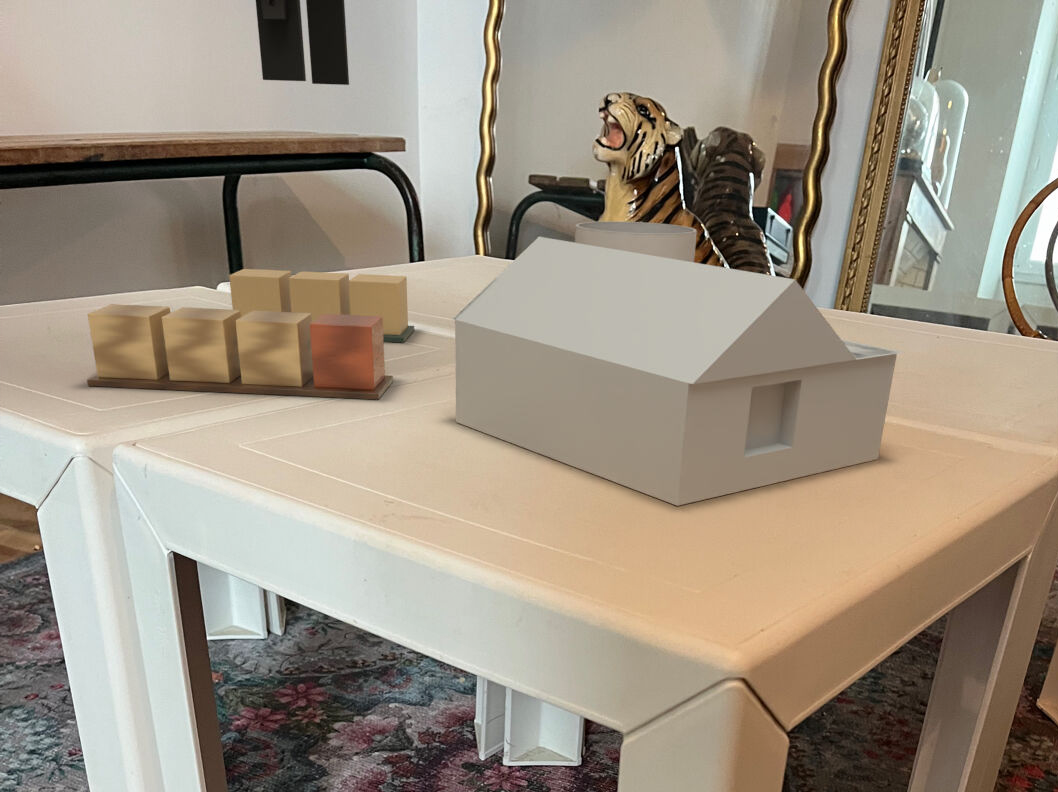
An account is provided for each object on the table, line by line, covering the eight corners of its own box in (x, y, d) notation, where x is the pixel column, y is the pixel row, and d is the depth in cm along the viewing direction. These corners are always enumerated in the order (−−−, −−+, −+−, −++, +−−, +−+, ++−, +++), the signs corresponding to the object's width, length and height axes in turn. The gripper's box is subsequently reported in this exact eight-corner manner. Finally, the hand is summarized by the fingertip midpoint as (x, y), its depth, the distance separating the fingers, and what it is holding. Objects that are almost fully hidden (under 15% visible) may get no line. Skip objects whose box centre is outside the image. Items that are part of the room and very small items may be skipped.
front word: (87, 386, 92) (75, 315, 89) (120, 368, 98) (109, 301, 95) (378, 399, 92) (375, 328, 89) (393, 381, 98) (390, 314, 95)
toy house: (453, 421, 86) (451, 239, 80) (651, 391, 98) (663, 231, 92) (681, 507, 70) (701, 287, 63) (885, 459, 82) (920, 269, 75)
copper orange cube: (314, 387, 92) (309, 323, 90) (327, 375, 97) (323, 313, 94) (374, 390, 92) (371, 326, 90) (385, 377, 97) (382, 316, 94)
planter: (611, 345, 116) (617, 234, 111) (550, 324, 126) (553, 222, 120) (710, 338, 122) (721, 232, 117) (645, 319, 131) (652, 220, 126)
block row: (168, 331, 114) (160, 273, 111) (190, 320, 120) (184, 264, 117) (403, 342, 113) (401, 284, 111) (414, 330, 119) (412, 275, 117)
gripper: (287, -389, 59) (320, 80, 70) (377, -256, 81) (392, 87, 91) (147, -392, 59) (200, 76, 70) (274, -258, 81) (300, 84, 91)
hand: (309, 83), depth 80 cm, fingers open, 13 cm apart
